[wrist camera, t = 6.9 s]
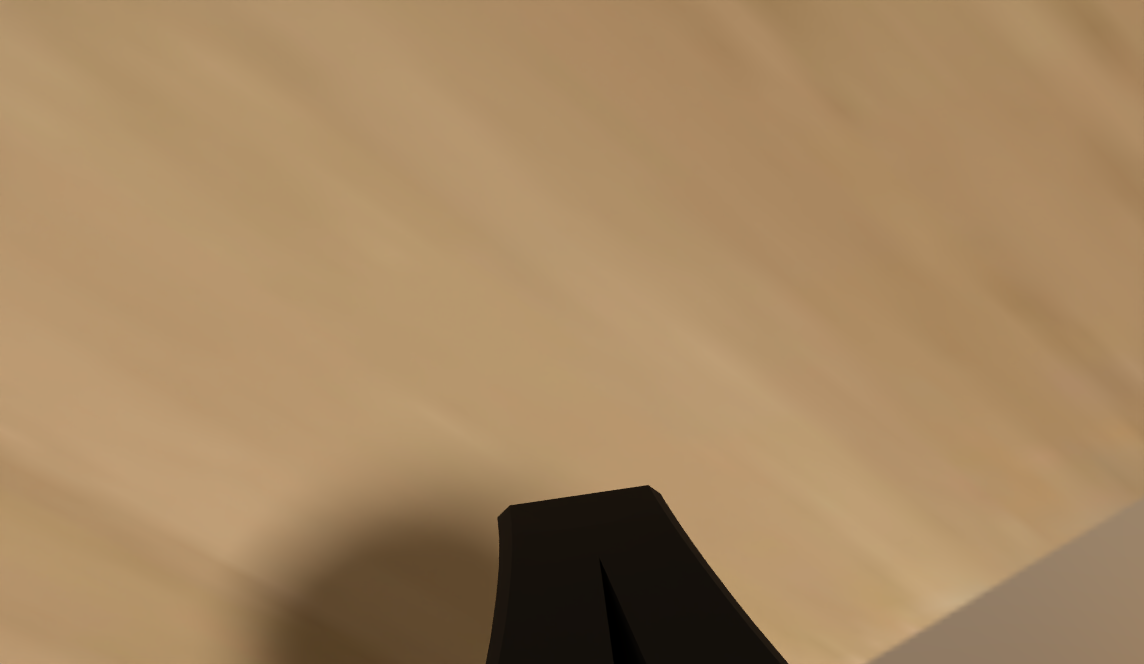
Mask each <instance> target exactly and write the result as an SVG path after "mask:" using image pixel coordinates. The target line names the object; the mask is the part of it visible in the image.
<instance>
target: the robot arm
mask: <svg viewBox="0 0 1144 664" xmlns="http://www.w3.org/2000/svg"><path fill="white" fill-rule="evenodd" d="M498 529H499V572H498V584H497V595H496V603H495V610H494V617H493V625H492V632H491V639H490V644H489V650H488V655H487V660H486V664H788V663H787V661H786V660H785V659H784V658H783V657H782V656H781V654H780V653H779V652H778V651H777V650H776V648H775V647H774V646H773V645H772V644H771V643H770V641H769V640H768V639H767V638H766V637H765V636H764V634H763V633H762V632H761V631H760V630H759V628H758V627H757V626H756V625H755V624H754V622H753V621H752V620H751V619H750V617H749V616H748V615H747V614H746V612H745V611H744V610H743V609H742V607H741V606H740V605H739V604H738V602H737V601H736V600H735V599H734V597H733V596H732V595H731V593H730V592H729V591H728V590H727V588H726V587H725V586H724V584H723V583H722V582H721V580H720V579H719V578H718V576H717V575H716V574H715V572H714V571H713V570H712V569H711V567H710V566H709V565H708V563H707V562H706V560H705V559H704V558H703V556H702V555H701V554H700V552H699V551H698V549H697V548H696V547H695V545H694V544H693V542H692V541H691V540H690V538H689V537H688V535H687V534H686V532H685V531H684V530H683V528H682V527H681V525H680V524H679V522H678V521H677V519H676V517H675V516H674V514H673V513H672V511H671V510H670V508H669V507H668V505H667V504H666V502H665V500H664V499H663V497H662V495H661V494H660V493H659V492H657V491H656V490H654V489H653V488H652V487H650V486H649V485H646V486H639V487H632V488H626V489H619V490H612V491H605V492H598V493H592V494H585V495H578V496H571V497H564V498H558V499H551V500H544V501H537V502H530V503H524V504H517V505H510V506H509V507H508V508H507V509H506V510H505V511H504V512H503V513H502V514H501V515H500V516H499V517H498Z"/></svg>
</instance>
